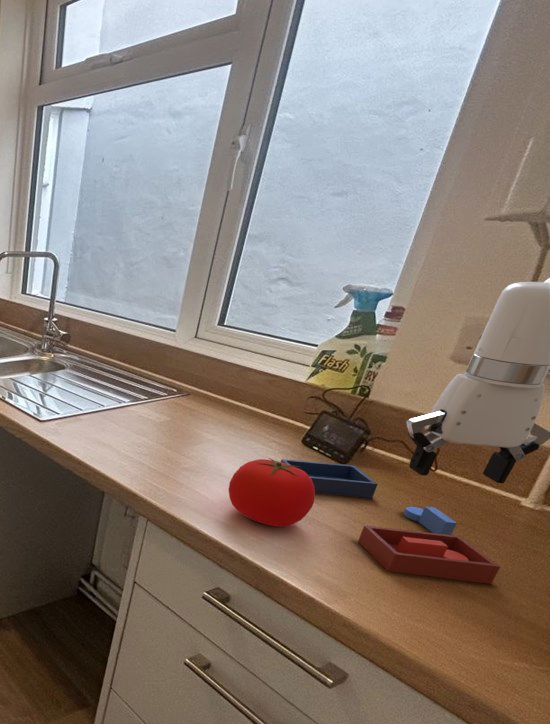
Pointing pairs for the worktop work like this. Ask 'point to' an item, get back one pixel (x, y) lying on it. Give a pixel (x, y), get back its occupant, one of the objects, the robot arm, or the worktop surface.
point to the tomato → (272, 492)
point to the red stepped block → (427, 548)
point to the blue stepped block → (431, 519)
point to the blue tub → (336, 478)
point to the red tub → (385, 552)
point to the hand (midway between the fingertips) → (454, 475)
